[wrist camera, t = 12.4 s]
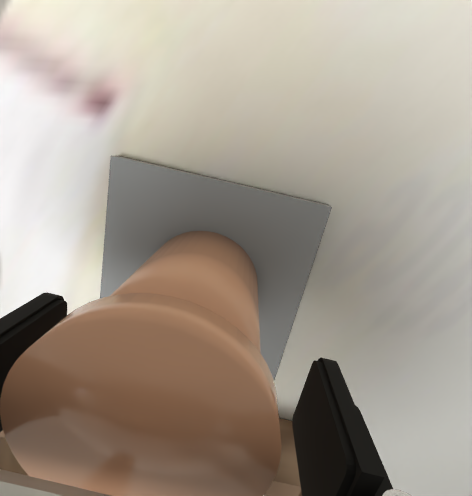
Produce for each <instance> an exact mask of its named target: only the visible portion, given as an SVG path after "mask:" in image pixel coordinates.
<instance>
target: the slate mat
mask: <svg viewBox="0 0 472 496" xmlns="http://www.w3.org/2000/svg"><path fill="white" fill-rule="evenodd" d="M331 208H332V207H331V206H329V205H327V204H323V203H318V202H314V201H310V200H305V199H301V198H297V197H293V196H288V195H284V194H280V193H275V192H271V191H267V190H263V189H258V188H254V187H250V186H245V185H241V184H237V183H233V182H228V181H224V180H220V179H215V178H211V177H207V176H203V175H198V174H194V173H190V172H185V171H181V170H177V169H173V168H168V167H164V166H160V165H155V164H151V163H147V162H143V161H138V160H134V159H130V158H125V157H121V156H111V161H110V174H109V187H108V200H107V213H106V226H105V239H104V252H103V265H102V279H101V292H100V299H101V298H104V297H108V296H110V295H111V294H112V293H113V292H114V291H115V290H116V289H118V288H119V287H120V286H121V285H122V284H123V283H124V282H125V281H126V280H127V279H128V278H129V277H130V276H131V275H132V274H133V273H134V272H135V271H136V270H137V269H138V268H139V267H141V266H142V265H143V264H144V263H145V262H146V261H147V260H148V259H149V258H150V257H151V256H152V255H153V254H154V253H155V252H156V251H157V250H158V249H159V248H160V247H161V246H162V245H164V244H165V243H166V242H167V241H168V240H170V239H171V238H173V237H175V236H177V235H180V234H182V233H186V232H190V231H209V232H214V233H218V234H221V235H223V236H226V237H228V238H229V239H231V240H233V241H234V242H236V243H237V244H238V245H239V246H241V247H242V248H243V249H244V250H245V252H246V253H247V254H248V256H249V257H250V259H251V260H252V262H253V264H254V267H255V269H256V273H257V279H258V300H259V326H260V351H261V355H262V356H263V358H264V360H265V361H266V363H267V365H268V367H269V370H270V372H271V374H272V377H273V380H274V379H275V376H276V373H277V370H278V367H279V364H280V361H281V358H282V355H283V352H284V349H285V346H286V343H287V340H288V337H289V334H290V331H291V328H292V325H293V322H294V319H295V316H296V313H297V310H298V307H299V304H300V301H301V298H302V295H303V292H304V289H305V286H306V283H307V280H308V277H309V274H310V271H311V268H312V265H313V262H314V259H315V256H316V253H317V250H318V247H319V244H320V241H321V238H322V235H323V232H324V229H325V226H326V223H327V220H328V217H329V214H330V211H331Z"/></svg>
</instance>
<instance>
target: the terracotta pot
mask: <svg viewBox="0 0 472 496" xmlns="http://www.w3.org/2000/svg"><path fill="white" fill-rule="evenodd" d="M0 417H1V424H2V428H3V432H4V435H5V438H6V441H7V443H8V445H9V447H10V449H11V451H12V453H13V455H14V456H15V458H16V460H17V461H18V463H19V464H20V466H21V467H22V468H23V469H24V471H25V472H26V473H27V474H28V476H31V477H35V478H39V479H44V480H48V481H52V482H57V483H61V484H65V485H69V486H73V487H78V488H82V489H86V490H90V491H94V492H98V493H103V494H107V495H111V496H263V495H264V494H265V492H266V491H267V490H268V488H269V487H270V486H271V484H272V482H273V479H274V477H275V475H276V473H277V470H278V466H279V463H280V457H281V435H280V424H279V414H278V404H277V394H276V388H275V384H274V380H273V377H272V374H271V372H270V370H269V367H268V365H267V363H266V361H265V360H264V358H263V356H262V355H261V351H260V326H259V300H258V279H257V273H256V269H255V267H254V264H253V262H252V260H251V259H250V257H249V256H248V254H247V253H246V252H245V250H244V249H243V248H242V247H241V246H239V245H238V244H237V243H236V242H234V241H233V240H231V239H229V238H228V237H226V236H223V235H221V234H218V233H214V232H209V231H190V232H186V233H182V234H180V235H177V236H175V237H173V238H171V239H170V240H168V241H167V242H166V243H165V244H164V245H162V246H161V247H160V248H159V249H158V250H157V251H156V252H155V253H154V254H153V255H152V256H151V257H150V258H149V259H148V260H147V261H146V262H145V263H144V264H143V265H142V266H141V267H139V268H138V269H137V270H136V271H135V272H134V273H133V274H132V275H131V276H130V277H129V278H128V279H127V280H126V281H125V282H124V283H123V284H122V285H121V286H120V287H119V288H118V289H116V290H115V291H114V292H113V293H112V294H111V295H110V296H108V297H104V298H101V299H98V300H95V301H92V302H89V303H87V304H85V305H83V306H81V307H79V308H78V309H76V310H74V311H73V312H71V313H70V314H69V315H67V316H66V317H65V318H63V319H62V320H61V321H60V322H59V323H57V324H56V325H55V326H54V327H53V328H51V329H50V330H49V331H48V332H47V333H45V334H44V335H43V336H42V337H41V338H40V339H38V340H37V341H36V342H35V343H34V344H32V345H31V346H30V347H29V348H28V349H27V350H26V351H25V352H24V353H23V354H22V355H21V356H20V357H19V358H18V359H17V360H16V362H15V363H14V365H13V366H12V368H11V369H10V371H9V372H8V375H7V377H6V380H5V382H4V384H3V388H2V393H1V398H0Z"/></svg>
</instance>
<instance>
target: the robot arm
mask: <svg viewBox="0 0 472 496" xmlns="http://www.w3.org/2000/svg"><path fill="white" fill-rule="evenodd" d="M66 316H67V302H66V301H64V299H63V297H62V296H59V295H55V294H51V293H43V294H41V295H39V296H38V297H36V298H34V299H33V300H31V301H29V302H28V303H26V304H24V305H23V306H21V307H19V308H18V309H16V310H14V311H12V312H11V313H9V314H7V315H6V316H4V317H2V318H1V319H0V398H1V393H2V388H3V384H4V382H5V380H6V377H7V375H8V372H9V371H10V369H11V368H12V366H13V365H14V363H15V362H16V360H17V359H18V358H19V357H20V356H21V355H22V354H23V353H24V352H25V351H26V350H27V349H28V348H29V347H30V346H31V345H32V344H34V343H35V342H36V341H37V340H38V339H40V338H41V337H42V336H43V335H44V334H45V333H47V332H48V331H49V330H50V329H51V328H53V327H54V326H55V325H56V324H57V323H59V322H60V321H61V320H62V319H63V318H65V317H66ZM292 427H293V435H294V442H295V449H296V456H297V464H298V471H299V478H300V485H301V493H302V496H411V495H410V494H408V493H405V492H403V491H401V490H396V489H393V487H392V485H391V483H390V480H389V478H388V476H387V473H386V471H385V469H384V466H383V464H382V461H381V459H380V457H379V454H378V452H377V450H376V447H375V445H374V443H373V440H372V438H371V436H370V433H369V431H368V428H367V426H366V424H365V421H364V419H363V417H362V414H361V412H360V410H359V408H358V407H357V406H356V405H355V404H354V402H353V399H352V397H351V395H350V392H349V390H348V387H347V385H346V383H345V380H344V378H343V375H342V373H341V370H340V368H339V366H338V363H337V362H336V361H333V360H329V359H325V358H319V360H318V361H313V363H312V366H311V369H310V371H309V374H308V377H307V380H306V382H305V385H304V388H303V391H302V393H301V396H300V399H299V401H298V404H297V407H296V410H295V412H294V415H293V421H292ZM2 430H3V428H2V424H1V417H0V432H1V431H2ZM0 496H111V495H107V494H103V493H98V492H94V491H90V490H86V489H82V488H78V487H73V486H69V485H65V484H61V483H57V482H52V481H48V480H44V479H39V478H35V477H31V476H27V475H22V474H18V473H14V472H9V471H5V470H1V469H0Z"/></svg>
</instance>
